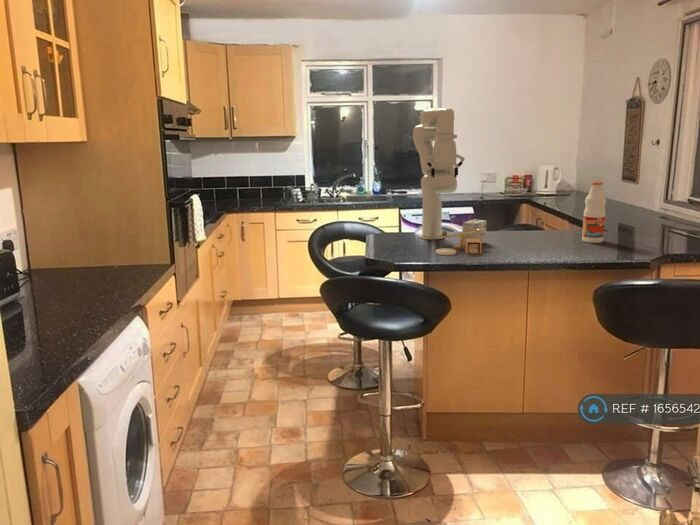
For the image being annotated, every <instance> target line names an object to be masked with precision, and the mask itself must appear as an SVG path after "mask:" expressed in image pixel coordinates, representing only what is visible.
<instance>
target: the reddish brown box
mask: <svg viewBox="0 0 700 525" xmlns="http://www.w3.org/2000/svg"><path fill="white" fill-rule="evenodd" d="M468 243H478V254H480V255H481V254H482V244H483V243H482V241H481V240H480V239H465V249H464V252H465V253H466V255H467V254H469V252H468Z"/></svg>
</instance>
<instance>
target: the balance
mask: <svg viewBox="0 0 700 525" xmlns="http://www.w3.org/2000/svg"><path fill="white" fill-rule="evenodd" d="M480 231H484V229H481V228H477V229H475V231H471V232H466V233H463V232H461V233H454V234H448V231H447V230H443V231H442V230H441V234H442V235H440V237H444V238H443V239H449V238H453V237H459V244H452V245H453V246H452V247H453V249H455V250H465V245H464V244H463V237H464V235H466V234H472V233H477V232H480Z"/></svg>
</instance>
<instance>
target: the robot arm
mask: <svg viewBox="0 0 700 525" xmlns="http://www.w3.org/2000/svg"><path fill="white" fill-rule="evenodd" d="M419 119H420V124H419V125H416V126H415V127H414V128H413V132H412V137H413V138H412V140H413V143H414V146H415V148H416V151H417V152H418V155H419V161H420V167H421V172H422V174H423V176H422V178H420V187H421V192H422V193H421V196H422V221H421V222H422V225H421V226H422V227H421V229H422V233H420V234H419V236H418V237H419V238H420V239H421V240H422V239H424V240H441V239H445V238H444V237H440V235H442V226H443V225H442V221H443V220H442V218H443V216H442V215H443V203H442V200H441V199H440V197H439V196H438V194H451V193H454V192H456V191H457V188H458V181H457V176H459V168H460V167H461V166H463V164H464V161H465V159H466V158H465V157H464V156H462V155H460V154H457V146H456V145H457V144H456V141H455V140H454V139H457V138H458V134H455V128H454V127H455V110H454V109H452V108H447V107H446V108H445V107H443V108H442V107H438V108H437V107H436V108H434V107H433V108H427V109H422V110H421V113H420V117H419ZM430 142H434V143H433V145H432V144H430ZM457 158H458V159H460V160H459V162H458V163H457Z"/></svg>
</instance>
